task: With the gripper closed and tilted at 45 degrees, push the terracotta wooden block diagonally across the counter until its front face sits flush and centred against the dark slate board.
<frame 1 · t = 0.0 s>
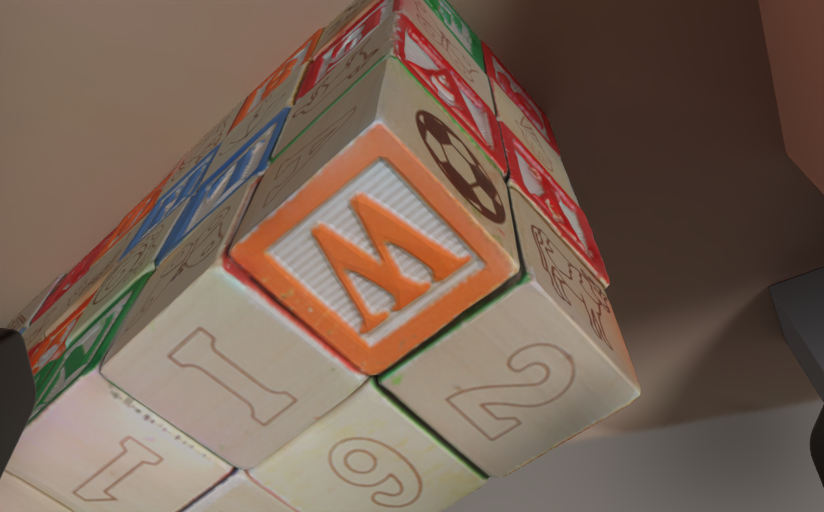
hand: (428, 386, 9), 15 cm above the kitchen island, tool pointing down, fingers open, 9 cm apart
stack of blocks: (229, 247, 26), on the kitchen island
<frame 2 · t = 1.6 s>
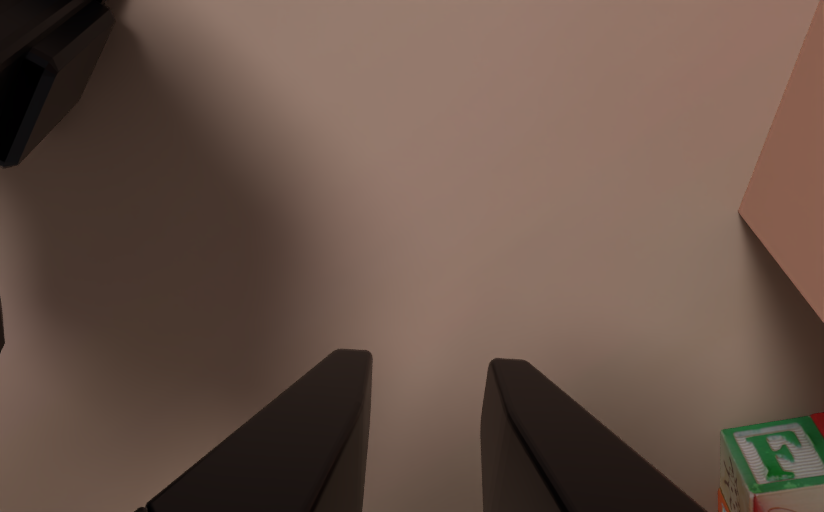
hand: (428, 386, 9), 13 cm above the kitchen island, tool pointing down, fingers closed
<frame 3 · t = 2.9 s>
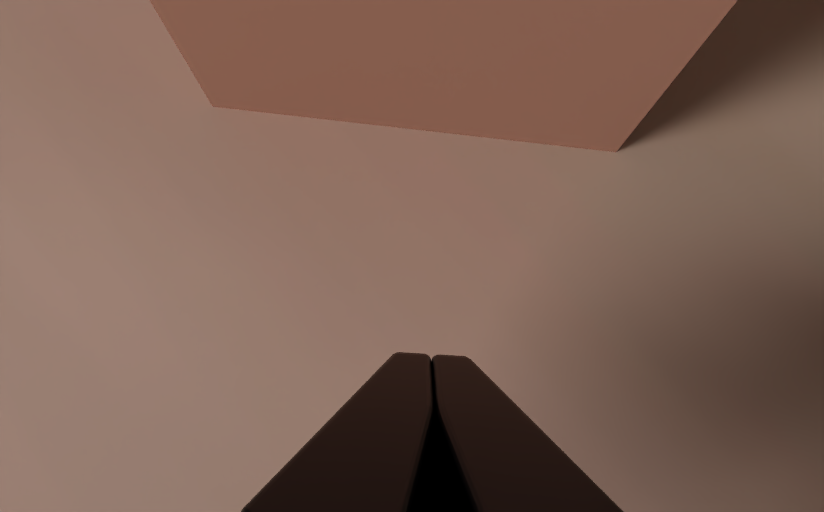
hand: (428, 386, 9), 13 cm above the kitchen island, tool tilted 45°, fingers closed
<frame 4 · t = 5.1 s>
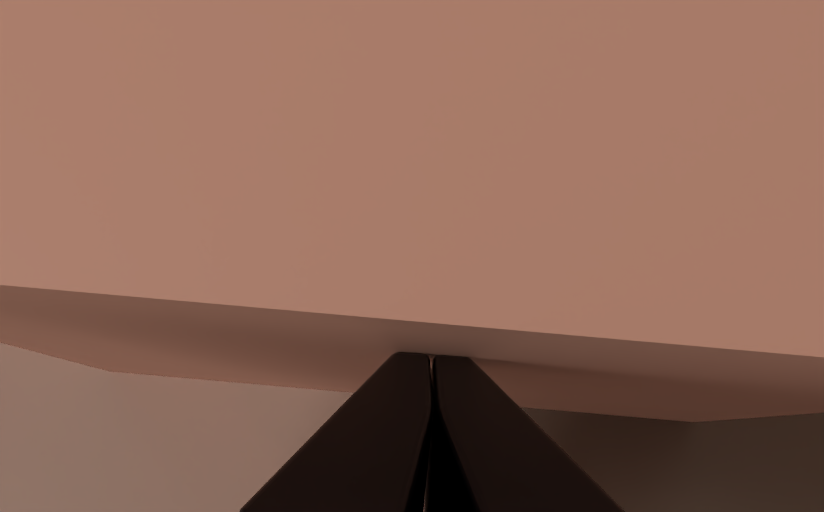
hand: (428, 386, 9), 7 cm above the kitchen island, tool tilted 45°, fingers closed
terracotta block: (426, 124, 17), on the kitchen island, touching gripper
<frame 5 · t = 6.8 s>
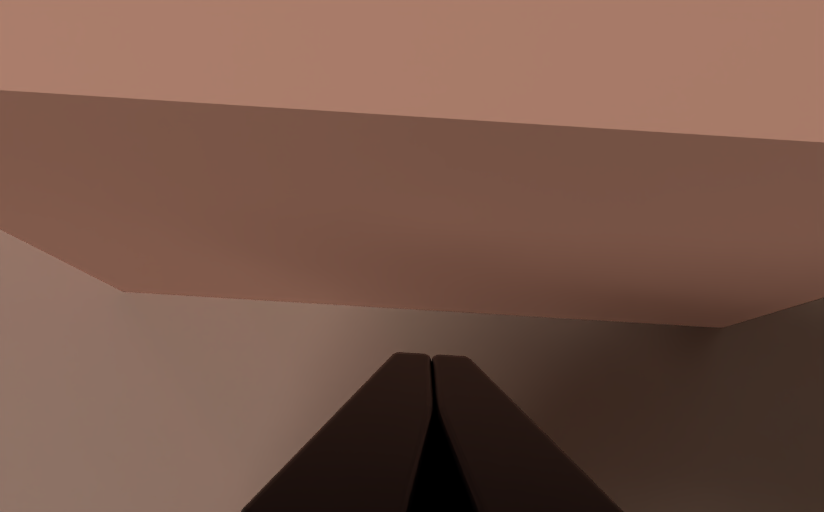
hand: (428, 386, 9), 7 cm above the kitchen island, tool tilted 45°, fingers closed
terracotta block: (438, 38, 17), on the kitchen island
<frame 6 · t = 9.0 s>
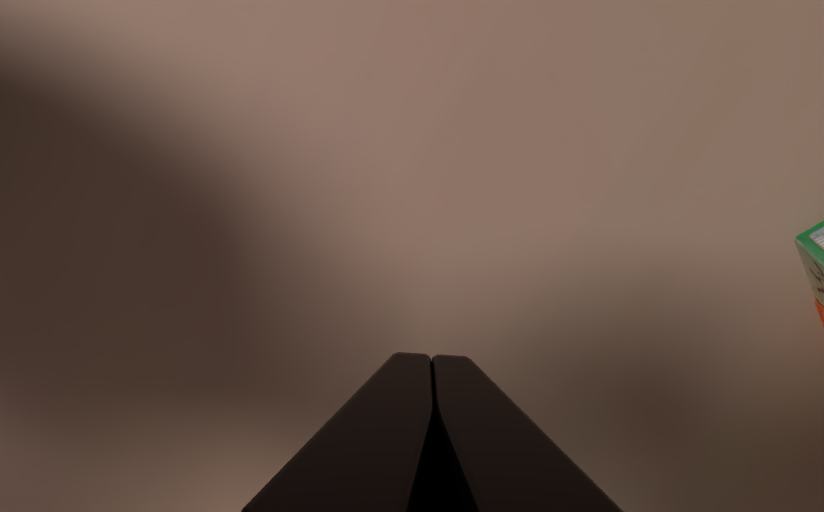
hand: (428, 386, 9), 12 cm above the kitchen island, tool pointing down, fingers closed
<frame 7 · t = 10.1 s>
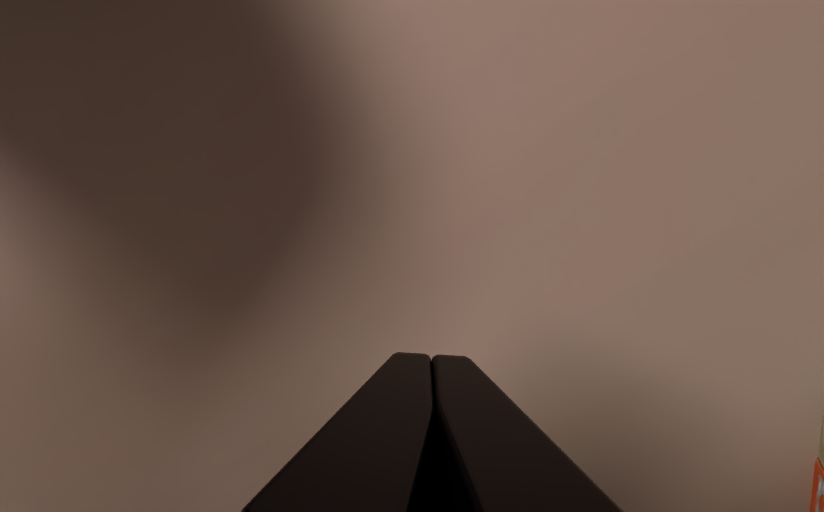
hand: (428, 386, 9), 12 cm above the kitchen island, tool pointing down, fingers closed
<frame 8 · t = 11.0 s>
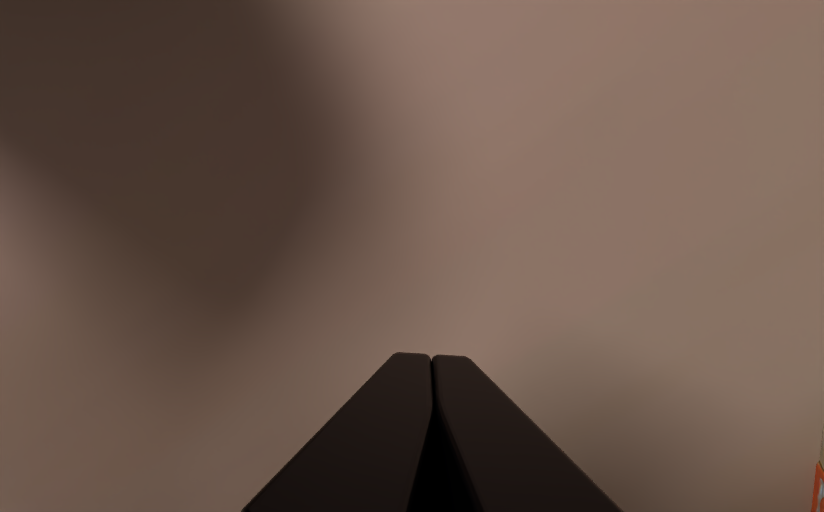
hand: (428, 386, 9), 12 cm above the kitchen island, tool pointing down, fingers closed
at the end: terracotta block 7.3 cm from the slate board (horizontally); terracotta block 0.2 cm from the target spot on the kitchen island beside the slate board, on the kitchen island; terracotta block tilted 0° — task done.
